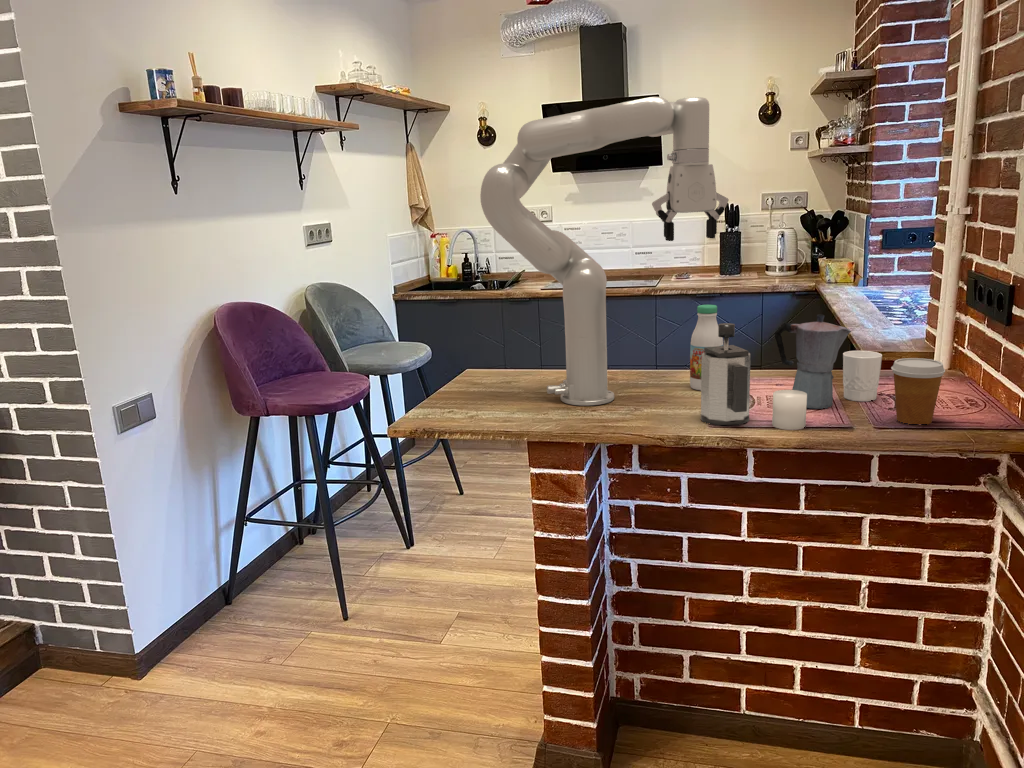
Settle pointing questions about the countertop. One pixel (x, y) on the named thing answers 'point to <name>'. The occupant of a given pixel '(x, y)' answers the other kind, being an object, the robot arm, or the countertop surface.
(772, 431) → the countertop surface
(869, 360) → the white cup
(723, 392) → the press carafe
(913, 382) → the disposable coffee cup
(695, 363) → the milk bottle
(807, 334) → the moka pot
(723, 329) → the plunger
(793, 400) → the white pillar candle
